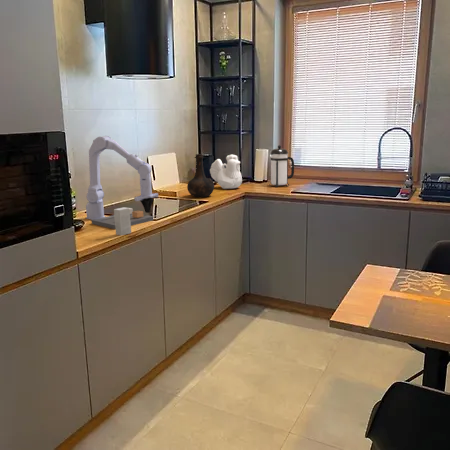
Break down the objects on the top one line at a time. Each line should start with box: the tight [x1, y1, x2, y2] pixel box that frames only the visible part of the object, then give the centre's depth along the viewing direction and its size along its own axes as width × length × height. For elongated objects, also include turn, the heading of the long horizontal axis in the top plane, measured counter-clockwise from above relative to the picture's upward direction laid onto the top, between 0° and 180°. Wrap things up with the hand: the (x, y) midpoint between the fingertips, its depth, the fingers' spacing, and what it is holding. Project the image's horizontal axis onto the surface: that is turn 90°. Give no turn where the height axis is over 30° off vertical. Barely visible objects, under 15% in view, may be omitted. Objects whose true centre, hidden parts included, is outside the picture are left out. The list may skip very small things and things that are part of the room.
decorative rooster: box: [209, 154, 243, 190], centre depth 336 cm, size 25×16×25 cm, turn 48°
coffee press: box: [269, 144, 295, 188], centre depth 340 cm, size 17×16×30 cm
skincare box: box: [113, 206, 132, 237], centre depth 213 cm, size 6×4×12 cm
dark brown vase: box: [186, 153, 215, 198], centre depth 304 cm, size 18×18×28 cm
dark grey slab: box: [90, 214, 154, 230], centre depth 238 cm, size 20×24×2 cm
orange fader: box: [132, 210, 144, 218], centre depth 239 cm, size 4×4×3 cm
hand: (147, 212), depth 244 cm, fingers closed
